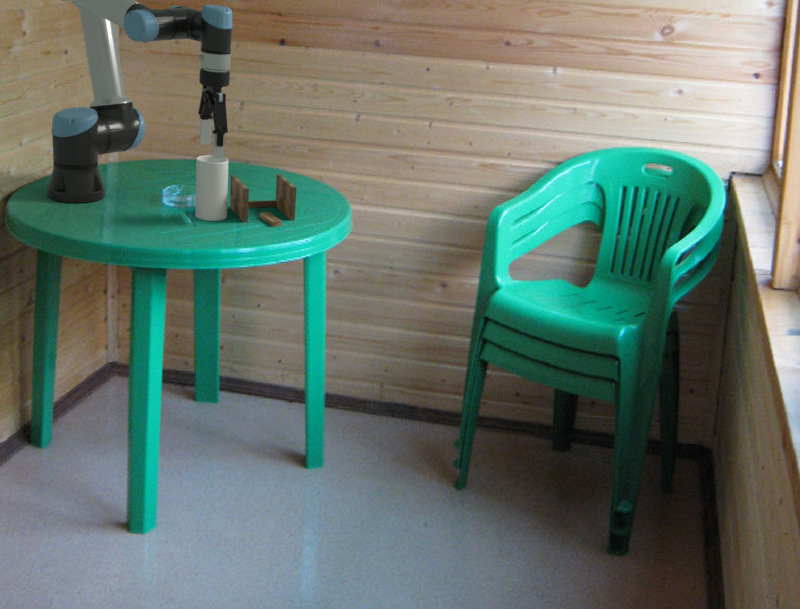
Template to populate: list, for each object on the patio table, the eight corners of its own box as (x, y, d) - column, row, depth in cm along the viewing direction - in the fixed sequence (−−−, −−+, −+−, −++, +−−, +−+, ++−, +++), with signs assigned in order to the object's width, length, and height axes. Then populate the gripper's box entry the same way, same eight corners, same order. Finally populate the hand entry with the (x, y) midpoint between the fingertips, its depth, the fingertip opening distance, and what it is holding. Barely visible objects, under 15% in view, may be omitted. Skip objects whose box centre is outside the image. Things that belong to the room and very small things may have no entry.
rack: (229, 210, 290) (230, 175, 286) (278, 208, 295) (280, 173, 292) (243, 225, 278) (245, 189, 274) (294, 223, 283) (296, 187, 280)
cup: (192, 213, 282) (193, 155, 277) (222, 212, 286) (224, 154, 280) (199, 222, 275) (200, 163, 270) (230, 221, 279) (231, 162, 273)
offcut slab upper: (272, 227, 276) (272, 222, 276) (259, 218, 283) (259, 212, 283) (282, 226, 278) (282, 221, 277) (269, 217, 285) (269, 211, 284)
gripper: (188, 59, 275) (185, 138, 283) (212, 78, 254) (209, 164, 262) (216, 60, 278) (213, 138, 286) (242, 79, 258) (238, 164, 265)
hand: (211, 151), depth 274 cm, fingers open, 13 cm apart
